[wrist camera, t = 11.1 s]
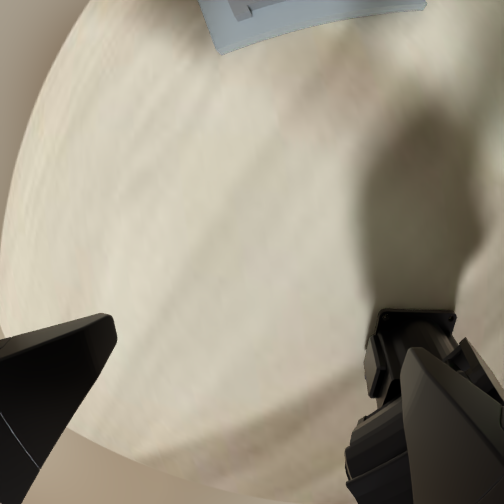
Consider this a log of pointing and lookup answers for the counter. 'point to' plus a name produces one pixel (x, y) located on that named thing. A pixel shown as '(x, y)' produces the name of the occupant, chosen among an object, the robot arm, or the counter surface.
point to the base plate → (285, 17)
